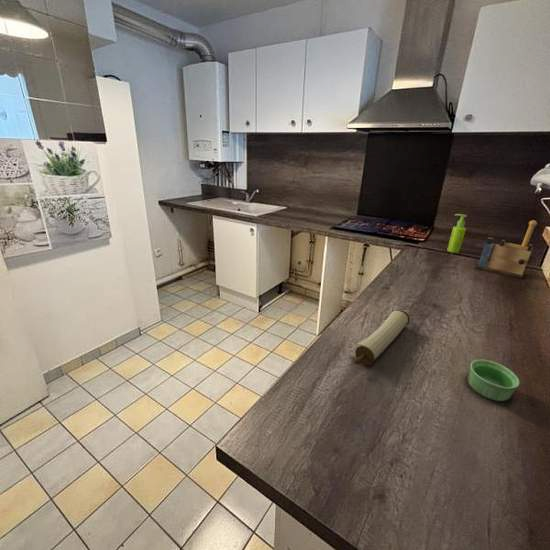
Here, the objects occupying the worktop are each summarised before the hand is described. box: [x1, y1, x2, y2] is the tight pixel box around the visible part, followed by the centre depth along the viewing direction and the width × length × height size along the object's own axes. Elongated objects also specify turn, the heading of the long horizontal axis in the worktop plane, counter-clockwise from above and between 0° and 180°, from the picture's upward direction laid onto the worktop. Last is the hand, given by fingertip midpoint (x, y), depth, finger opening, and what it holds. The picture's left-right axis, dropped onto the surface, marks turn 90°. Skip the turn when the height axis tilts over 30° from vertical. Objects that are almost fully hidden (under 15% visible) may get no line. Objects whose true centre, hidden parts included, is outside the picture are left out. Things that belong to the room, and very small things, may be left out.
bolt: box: [503, 219, 538, 251], centre depth 124 cm, size 10×3×12 cm, turn 51°
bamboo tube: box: [353, 309, 411, 366], centre depth 80 cm, size 32×6×5 cm, turn 137°
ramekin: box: [467, 359, 521, 402], centre depth 65 cm, size 9×9×4 cm
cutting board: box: [475, 236, 534, 280], centre depth 130 cm, size 17×6×14 cm, turn 51°
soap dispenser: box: [446, 213, 468, 254], centre depth 156 cm, size 6×7×20 cm
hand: (549, 195), depth 131 cm, fingers open, 8 cm apart
